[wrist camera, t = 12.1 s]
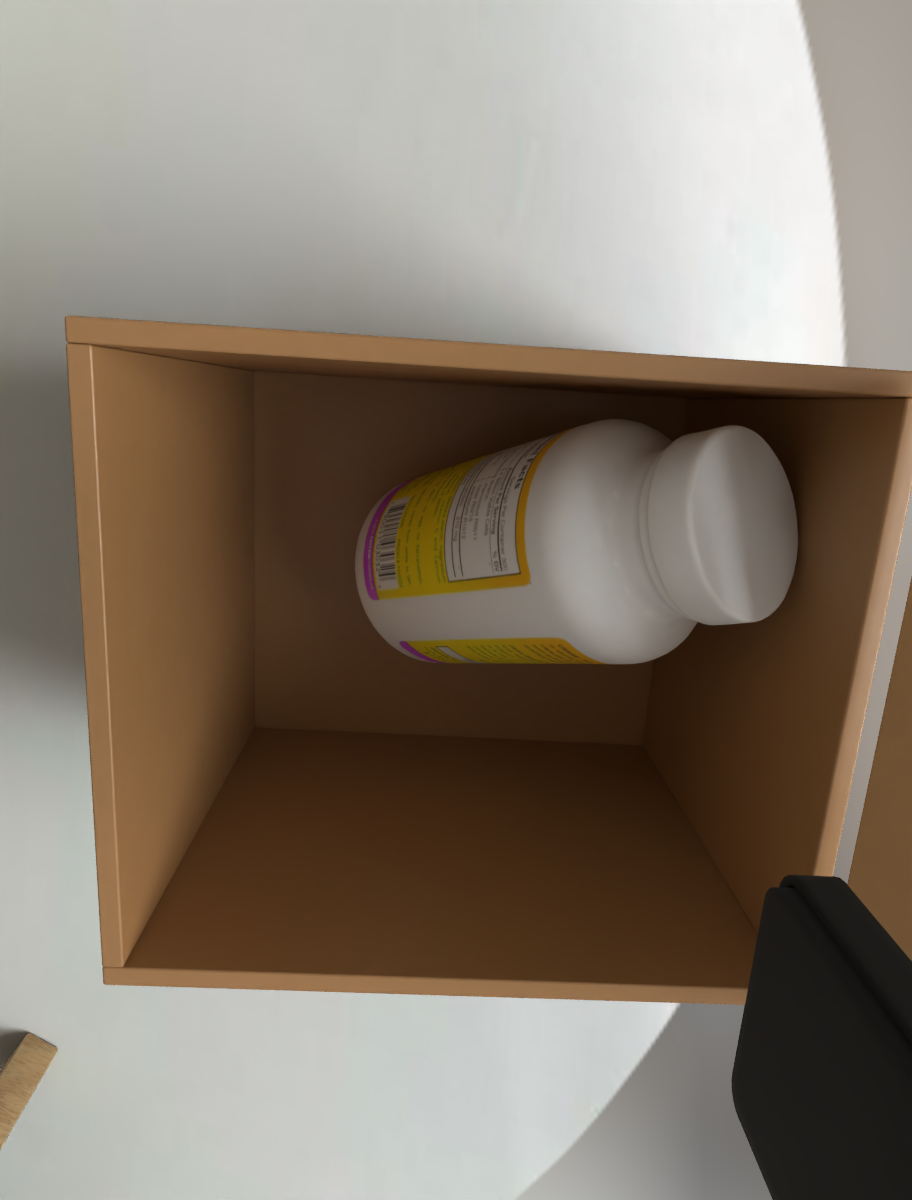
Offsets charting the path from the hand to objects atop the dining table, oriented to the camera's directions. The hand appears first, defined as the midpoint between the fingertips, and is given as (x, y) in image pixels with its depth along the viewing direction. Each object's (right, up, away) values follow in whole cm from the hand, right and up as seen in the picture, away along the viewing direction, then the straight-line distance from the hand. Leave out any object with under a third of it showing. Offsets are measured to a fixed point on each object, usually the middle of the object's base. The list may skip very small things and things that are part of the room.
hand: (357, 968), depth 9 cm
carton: (+1, +5, +22) cm, 23 cm away
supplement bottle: (0, +5, +20) cm, 20 cm away
